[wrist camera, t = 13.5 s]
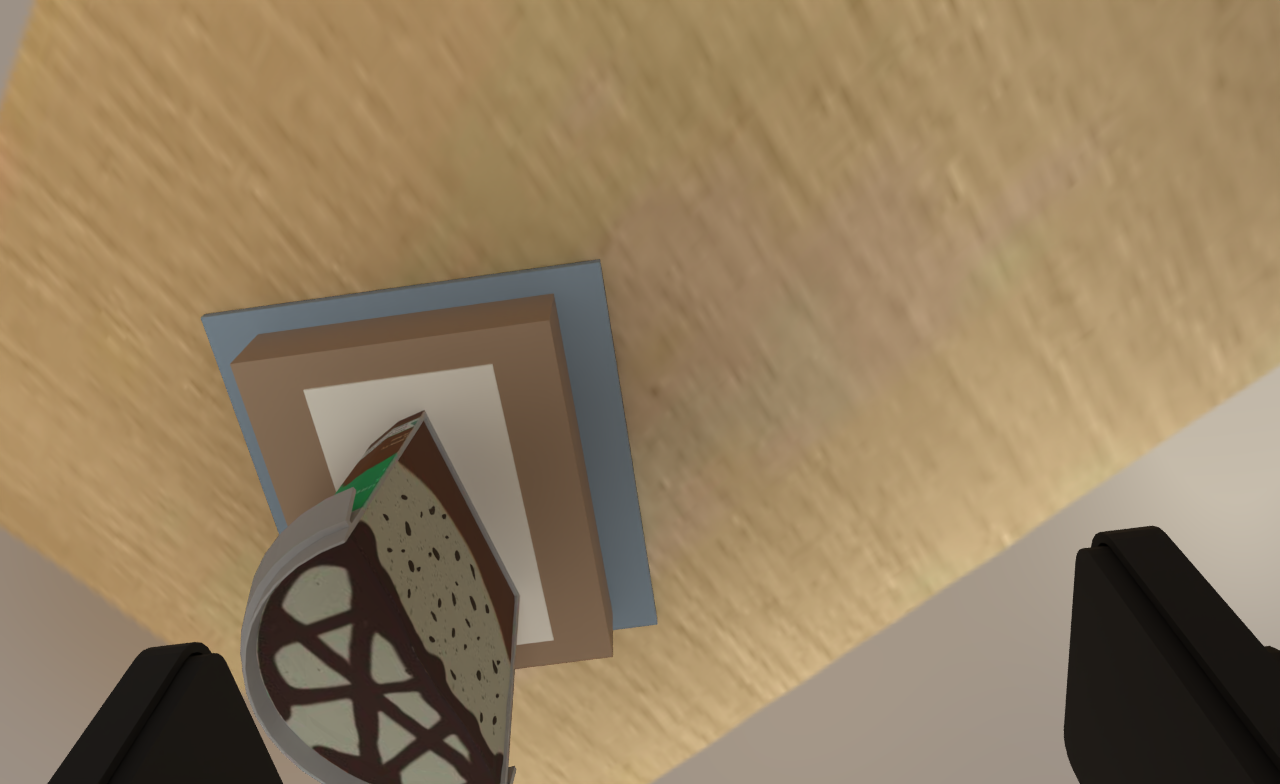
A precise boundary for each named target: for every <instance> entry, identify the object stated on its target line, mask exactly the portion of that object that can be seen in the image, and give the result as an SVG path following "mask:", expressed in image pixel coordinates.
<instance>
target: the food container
mask: <svg viewBox="0 0 1280 784" xmlns="http://www.w3.org/2000/svg"><path fill="white" fill-rule="evenodd" d="M519 602H520V594H519V593H518V591H517V589H516V587H515V585H514V583H513V581H512V579H511V577H510V575H509V573H508V571H507V569H506V567H505V565H504V563H503V561H502V559H501V558H500V556H499V554H498V552H497V550H496V548H495V546H494V544H493V542H492V540H491V538H490V536H489V534H488V532H487V530H486V528H485V526H484V524H483V523H482V521H481V519H480V517H479V515H478V513H477V511H476V509H475V507H474V505H473V503H472V501H471V499H470V497H469V495H468V493H467V491H466V489H465V488H464V486H463V484H462V482H461V480H460V478H459V476H458V474H457V472H456V470H455V468H454V466H453V464H452V462H451V460H450V458H449V456H448V454H447V452H446V451H445V449H444V447H443V445H442V443H441V441H440V439H439V437H438V435H437V433H436V431H435V429H434V427H433V425H432V423H431V421H430V419H429V417H428V416H427V414H426V412H425V410H423V411H421V412H419V413H416V414H414V415H412V416H409V417H407V418H405V419H403V420H400V421H398V422H397V423H396V424H395V425H393V426H392V427H391V428H390V429H389V430H388V431H386V432H385V433H384V434H383V435H382V436H381V437H379V438H378V439H377V440H376V441H375V442H373V443H372V444H371V445H370V447H369V448H368V449H367V451H366V452H365V453H364V455H363V456H362V458H361V459H360V460H359V462H358V463H357V464H356V466H355V467H354V469H353V470H352V471H351V473H350V474H349V475H348V477H347V478H346V480H345V481H344V482H343V484H342V485H341V486H340V488H339V489H338V491H337V492H336V493H335V495H333V496H331V497H329V498H326V499H325V500H323V501H322V502H320V503H319V504H317V505H315V506H314V507H312V508H311V509H309V510H307V511H306V512H304V513H303V514H301V515H300V516H299V517H298V518H297V519H296V520H295V521H294V522H292V523H291V524H290V525H289V526H288V527H287V528H286V529H285V530H284V531H282V532H281V534H280V535H279V536H278V537H277V539H276V540H275V541H274V543H273V544H272V545H271V547H270V548H269V549H268V551H267V552H266V553H265V555H264V557H263V559H262V561H261V563H260V565H259V567H258V569H257V571H256V573H255V576H254V578H253V582H252V586H251V590H250V594H249V598H248V602H247V607H246V612H245V616H244V621H243V625H242V630H241V652H240V655H241V661H242V671H243V677H244V683H245V688H246V694H247V696H248V699H249V701H250V704H251V707H252V709H253V712H254V714H255V716H256V718H257V720H258V721H259V723H260V724H261V726H262V728H263V729H264V731H265V733H266V734H267V736H268V737H269V738H270V739H271V740H272V742H273V743H274V744H275V745H276V746H277V748H278V749H279V750H280V751H281V752H282V753H283V754H284V755H285V756H286V757H287V758H288V759H289V760H290V761H292V762H293V763H294V764H295V765H296V766H297V767H298V768H300V769H301V770H302V771H303V772H305V773H306V774H308V775H309V776H311V777H312V778H314V779H315V780H317V781H319V782H320V783H321V784H513V781H514V777H515V773H516V768H515V766H512V767H508V763H509V748H510V734H511V719H512V705H513V690H514V675H515V661H516V646H517V631H518V617H519Z"/></svg>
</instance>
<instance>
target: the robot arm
mask: <svg viewBox="0 0 1280 784" xmlns="http://www.w3.org/2000/svg"><path fill="white" fill-rule="evenodd" d="M1064 741H1065V747H1066V751H1067V755H1068V758H1069V761H1070V764H1071V766H1072V768H1073V771H1074V773H1075V775H1076V777H1077V779H1078V781H1079V783H1080V784H1280V650H1278V649H1275V648H1273V647H1271V646H1265V647H1264V646H1263V645H1262V644H1261V643H1260V641H1259V640H1258V639H1257V638H1256V637H1255V636H1254V635H1253V633H1252V632H1251V631H1250V630H1249V629H1248V628H1247V626H1246V625H1245V624H1244V623H1243V622H1242V621H1241V619H1240V618H1239V617H1238V616H1237V615H1236V614H1235V613H1234V611H1233V610H1232V609H1231V608H1230V607H1229V606H1228V604H1227V603H1226V602H1225V601H1224V600H1223V599H1222V598H1221V596H1220V595H1219V594H1218V593H1217V592H1216V591H1215V589H1214V588H1213V587H1212V586H1211V585H1210V584H1209V583H1208V582H1207V580H1206V579H1205V578H1204V577H1203V576H1202V575H1201V573H1200V572H1199V571H1198V570H1197V569H1196V568H1195V566H1194V565H1193V564H1192V563H1191V562H1190V561H1189V560H1188V558H1187V557H1186V556H1185V555H1184V554H1183V553H1182V551H1181V550H1180V549H1179V548H1178V547H1177V546H1176V545H1175V543H1174V542H1173V541H1172V540H1171V539H1170V538H1169V537H1168V535H1167V534H1166V533H1165V532H1164V531H1162V530H1161V529H1160V528H1159V527H1155V526H1147V527H1138V528H1130V529H1122V530H1114V531H1105V532H1099V533H1098V534H1096V535H1095V536H1094V538H1093V540H1092V545H1091V548H1083V549H1080V550H1079V551H1078V553H1077V556H1076V563H1075V578H1074V592H1073V606H1072V621H1071V636H1070V649H1069V663H1068V678H1067V694H1066V708H1065V721H1064ZM48 784H283V782H282V780H281V778H280V776H279V774H278V772H277V770H276V767H275V765H274V764H273V761H272V759H271V757H270V755H269V753H268V750H267V748H266V746H265V744H264V742H263V740H262V738H261V736H260V733H259V731H258V729H257V727H256V725H255V723H254V721H253V718H252V716H251V714H250V712H249V710H248V708H247V706H246V703H245V701H244V699H243V697H242V695H241V693H240V691H239V688H238V686H237V684H236V682H235V680H234V678H233V676H232V674H231V671H230V669H229V667H228V665H227V663H226V661H225V660H224V658H223V657H222V656H221V655H219V654H217V653H211V651H210V650H209V648H208V647H207V646H205V645H204V644H203V643H199V642H192V643H184V644H176V645H167V646H160V647H151V648H148V649H146V650H143V651H142V652H141V653H140V654H139V655H138V656H137V657H136V658H135V660H134V661H133V663H132V664H131V666H130V667H129V668H128V670H127V671H126V673H125V674H124V675H123V677H122V678H121V680H120V681H119V683H118V684H117V685H116V687H115V688H114V690H113V691H112V692H111V694H110V695H109V697H108V698H107V700H106V701H105V703H104V704H103V705H102V707H101V708H100V710H99V711H98V713H97V714H96V715H95V717H94V718H93V720H92V721H91V723H90V724H89V725H88V727H87V728H86V730H85V731H84V733H83V734H82V735H81V737H80V738H79V740H78V741H77V742H76V744H75V745H74V747H73V748H72V749H71V751H70V752H69V754H68V755H67V757H66V758H65V760H64V761H63V762H62V764H61V765H60V767H59V768H58V769H57V771H56V772H55V774H54V775H53V777H52V778H51V779H50V781H49V782H48Z"/></svg>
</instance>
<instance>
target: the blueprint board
mask: <svg viewBox="0 0 1280 784" xmlns="http://www.w3.org/2000/svg"><path fill="white" fill-rule="evenodd" d="M201 320H202V323H203V326H204V328H205V331H206V334H207V337H208V339H209V342H210V345H211V348H212V350H213V353H214V356H215V359H216V361H217V364H218V367H219V370H220V372H221V375H222V378H223V381H224V383H225V386H226V389H227V392H228V394H229V397H230V400H231V403H232V405H233V408H234V411H235V414H236V416H237V419H238V422H239V425H240V427H241V430H242V433H243V436H244V438H245V441H246V444H247V447H248V449H249V452H250V455H251V458H252V460H253V463H254V466H255V469H256V471H257V474H258V477H259V480H260V483H261V485H262V488H263V491H264V494H265V496H266V499H267V502H268V505H269V507H270V510H271V513H272V516H273V518H274V521H275V524H276V527H277V529H278V532H279V535H280V534H281V532H282V531H284V530H285V529H286V528H287V527H288V526H289V525H290V524H291V523H292V522H294V521H295V520H296V519H297V518H298V517H299V516H300V515H301V514H303V513H304V512H306V511H307V510H309V509H311V508H312V507H314V506H315V505H317V504H319V503H320V502H322V501H323V500H325V499H326V498H329V497H331V496H333V495H335V493H336V492H337V491H338V489H339V488H340V486H341V485H342V484H343V482H344V481H345V480H346V478H347V477H348V475H349V474H350V473H351V471H352V470H353V469H354V467H355V466H356V464H357V463H358V462H359V460H360V459H361V458H362V456H363V455H364V453H365V452H366V451H367V449H368V448H369V447H370V445H371V444H372V443H373V442H375V441H376V440H377V439H378V438H379V437H381V436H382V435H383V434H384V433H385V432H386V431H388V430H389V429H390V428H391V427H392V426H393V425H395V424H396V423H397V422H398V421H400V420H403V419H405V418H407V417H409V416H412V415H414V414H416V413H419V412H421V411H423V410H425V412H426V414H427V416H428V417H429V419H430V421H431V423H432V425H433V427H434V429H435V431H436V433H437V435H438V437H439V439H440V441H441V443H442V445H443V447H444V449H445V451H446V452H447V454H448V456H449V458H450V460H451V462H452V464H453V466H454V468H455V470H456V472H457V474H458V476H459V478H460V480H461V482H462V484H463V486H464V488H465V489H466V491H467V493H468V495H469V497H470V499H471V501H472V503H473V505H474V507H475V509H476V511H477V513H478V515H479V517H480V519H481V521H482V523H483V524H484V526H485V528H486V530H487V532H488V534H489V536H490V538H491V540H492V542H493V544H494V546H495V548H496V550H497V552H498V554H499V556H500V558H501V559H502V561H503V563H504V565H505V567H506V569H507V571H508V573H509V575H510V577H511V579H512V581H513V583H514V585H515V587H516V589H517V591H518V593H519V594H520V602H519V617H518V631H517V646H516V661H515V669H519V668H527V667H535V666H543V665H551V664H559V663H567V662H575V661H583V660H591V659H599V658H607V657H613V630H617V629H625V628H633V627H641V626H649V625H656V624H657V615H656V609H655V602H654V596H653V590H652V584H651V577H650V571H649V565H648V558H647V552H646V546H645V540H644V533H643V527H642V521H641V514H640V508H639V502H638V496H637V489H636V483H635V477H634V470H633V464H632V458H631V451H630V445H629V439H628V433H627V426H626V420H625V414H624V407H623V401H622V395H621V389H620V382H619V376H618V370H617V363H616V357H615V351H614V345H613V338H612V332H611V326H610V319H609V313H608V307H607V301H606V294H605V288H604V282H603V275H602V269H601V263H600V259H599V260H591V261H584V262H577V263H570V264H563V265H555V266H548V267H541V268H534V269H527V270H520V271H512V272H505V273H498V274H491V275H484V276H476V277H469V278H462V279H455V280H448V281H440V282H433V283H426V284H419V285H412V286H404V287H397V288H390V289H383V290H376V291H369V292H361V293H354V294H347V295H340V296H333V297H325V298H318V299H311V300H304V301H297V302H289V303H282V304H275V305H268V306H261V307H253V308H246V309H239V310H232V311H225V312H218V313H210V314H204V315H203V316H202V317H201Z"/></svg>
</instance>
